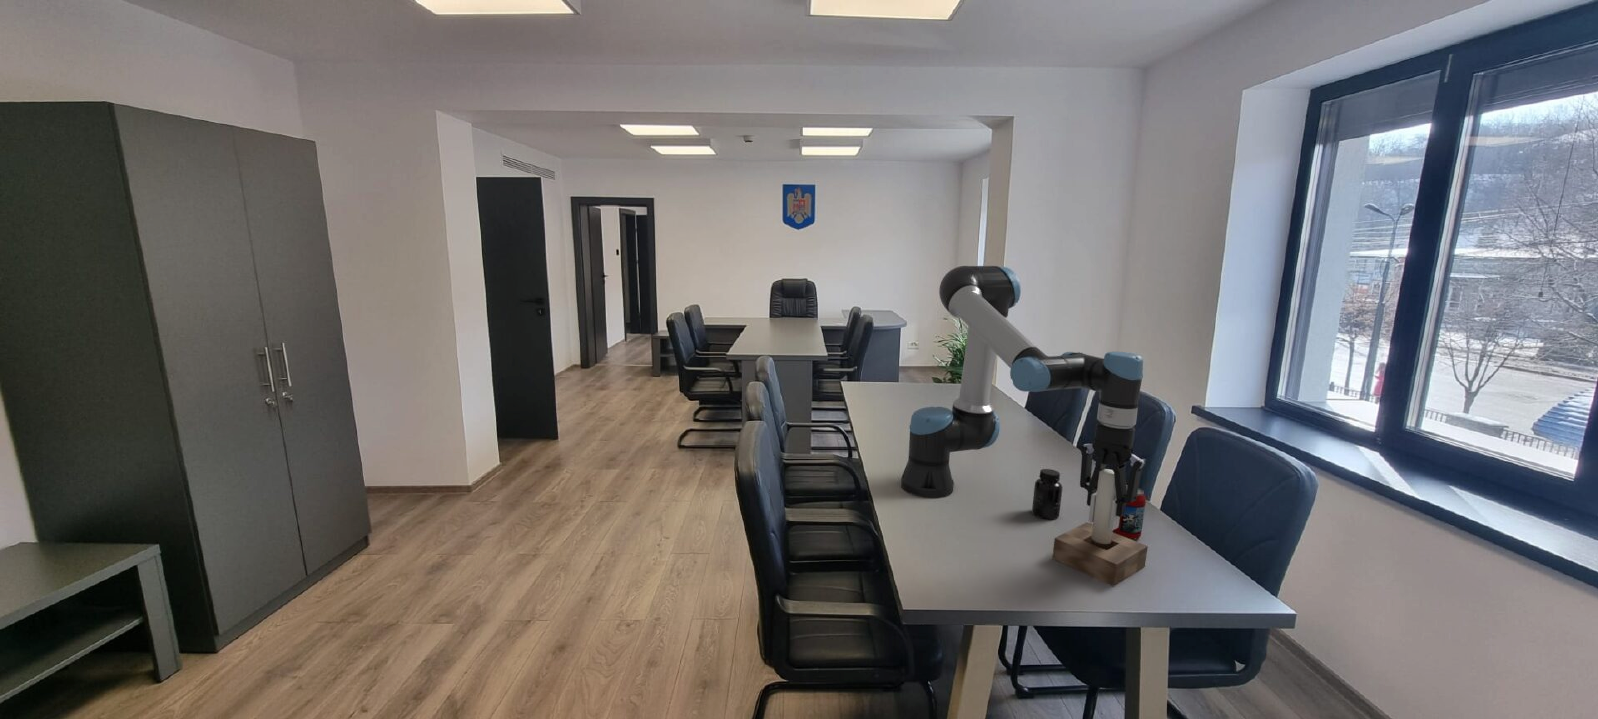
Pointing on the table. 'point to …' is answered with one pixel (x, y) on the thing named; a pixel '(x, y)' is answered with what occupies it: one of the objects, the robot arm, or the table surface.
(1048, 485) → the supplement bottle
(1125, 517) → the beverage can
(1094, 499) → the robot arm
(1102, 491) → the dowel
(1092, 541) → the socket block
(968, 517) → the table surface
